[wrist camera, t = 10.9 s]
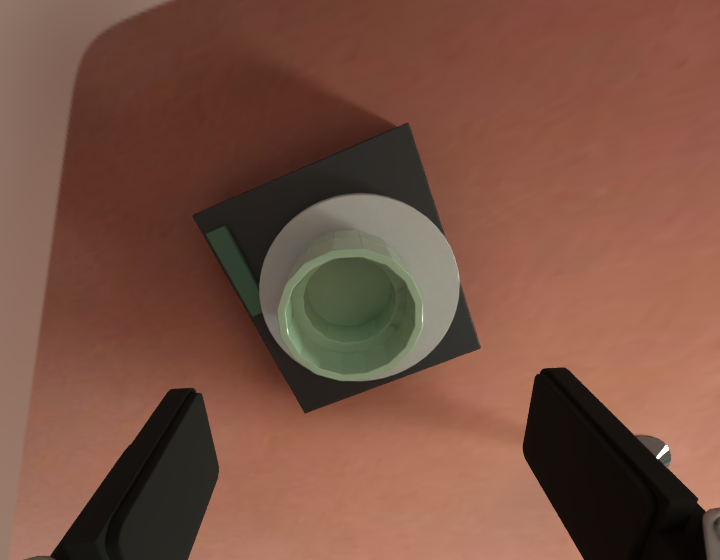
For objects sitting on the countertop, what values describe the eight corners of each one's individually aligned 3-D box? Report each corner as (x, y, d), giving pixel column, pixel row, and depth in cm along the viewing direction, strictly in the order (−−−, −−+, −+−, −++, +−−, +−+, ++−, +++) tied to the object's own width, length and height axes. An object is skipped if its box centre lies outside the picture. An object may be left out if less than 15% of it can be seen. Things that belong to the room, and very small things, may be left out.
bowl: (284, 231, 20) (268, 253, 15) (405, 224, 20) (424, 244, 16) (297, 339, 22) (286, 385, 18) (406, 332, 22) (422, 375, 18)
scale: (209, 207, 23) (185, 217, 19) (399, 126, 22) (411, 120, 18) (308, 387, 28) (303, 422, 24) (466, 327, 27) (486, 354, 23)
